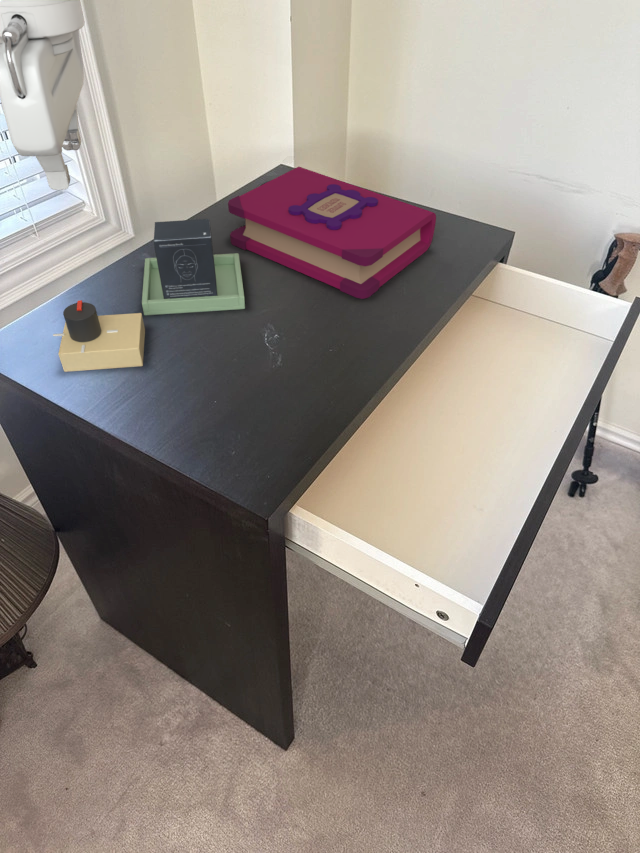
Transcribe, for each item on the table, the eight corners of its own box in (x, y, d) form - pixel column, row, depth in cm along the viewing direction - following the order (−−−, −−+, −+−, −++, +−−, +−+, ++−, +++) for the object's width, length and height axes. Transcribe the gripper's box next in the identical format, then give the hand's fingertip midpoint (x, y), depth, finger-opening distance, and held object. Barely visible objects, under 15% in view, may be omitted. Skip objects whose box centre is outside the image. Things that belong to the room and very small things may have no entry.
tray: (144, 315, 91) (141, 303, 90) (147, 269, 100) (144, 258, 99) (245, 309, 93) (244, 296, 92) (239, 264, 102) (238, 253, 101)
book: (303, 200, 119) (303, 159, 114) (432, 247, 108) (439, 205, 102) (227, 242, 107) (223, 199, 102) (363, 301, 96) (367, 256, 90)
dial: (101, 340, 82) (94, 316, 79) (68, 343, 81) (61, 319, 79) (102, 322, 85) (95, 298, 82) (71, 325, 84) (63, 301, 81)
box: (216, 282, 97) (210, 217, 90) (218, 302, 93) (211, 236, 86) (164, 285, 96) (153, 220, 89) (164, 306, 92) (152, 240, 85)
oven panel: (55, 373, 82) (48, 354, 79) (63, 335, 87) (57, 316, 85) (142, 366, 83) (138, 347, 81) (145, 330, 89) (141, 311, 87)
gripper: (47, 35, 47) (89, 212, 56) (78, -21, 61) (107, 128, 71) (-44, 35, 46) (15, 215, 55) (9, -22, 60) (48, 129, 70)
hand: (67, 166), depth 63 cm, fingers open, 8 cm apart
